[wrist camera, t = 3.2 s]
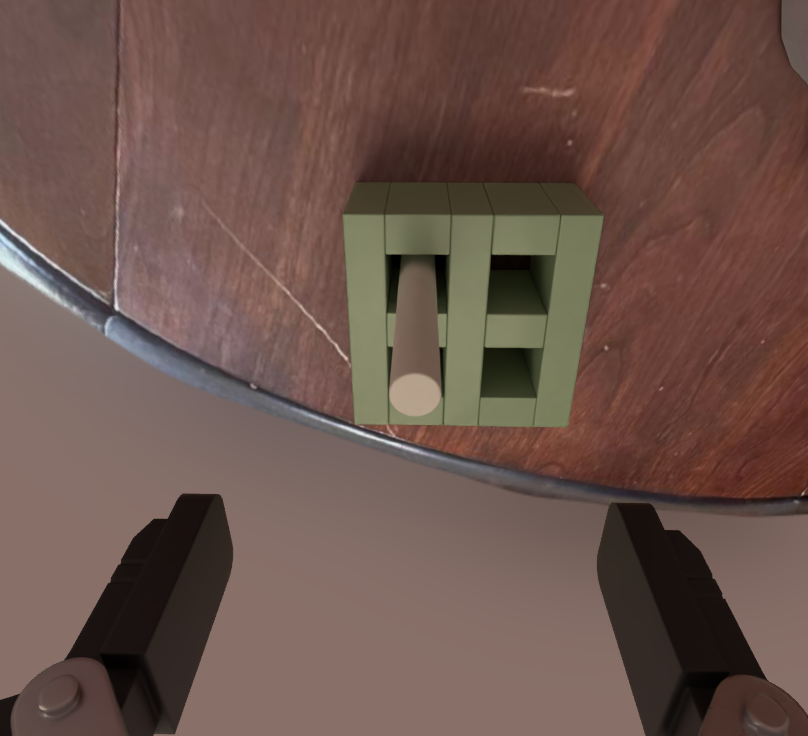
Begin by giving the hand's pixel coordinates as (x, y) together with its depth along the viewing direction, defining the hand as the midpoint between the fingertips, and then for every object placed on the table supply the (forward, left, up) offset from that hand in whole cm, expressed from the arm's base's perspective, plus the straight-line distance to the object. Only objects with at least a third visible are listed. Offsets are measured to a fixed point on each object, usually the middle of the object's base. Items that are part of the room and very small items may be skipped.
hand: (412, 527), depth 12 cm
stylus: (0, 0, -18) cm, 18 cm away
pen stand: (+2, -2, -18) cm, 18 cm away
